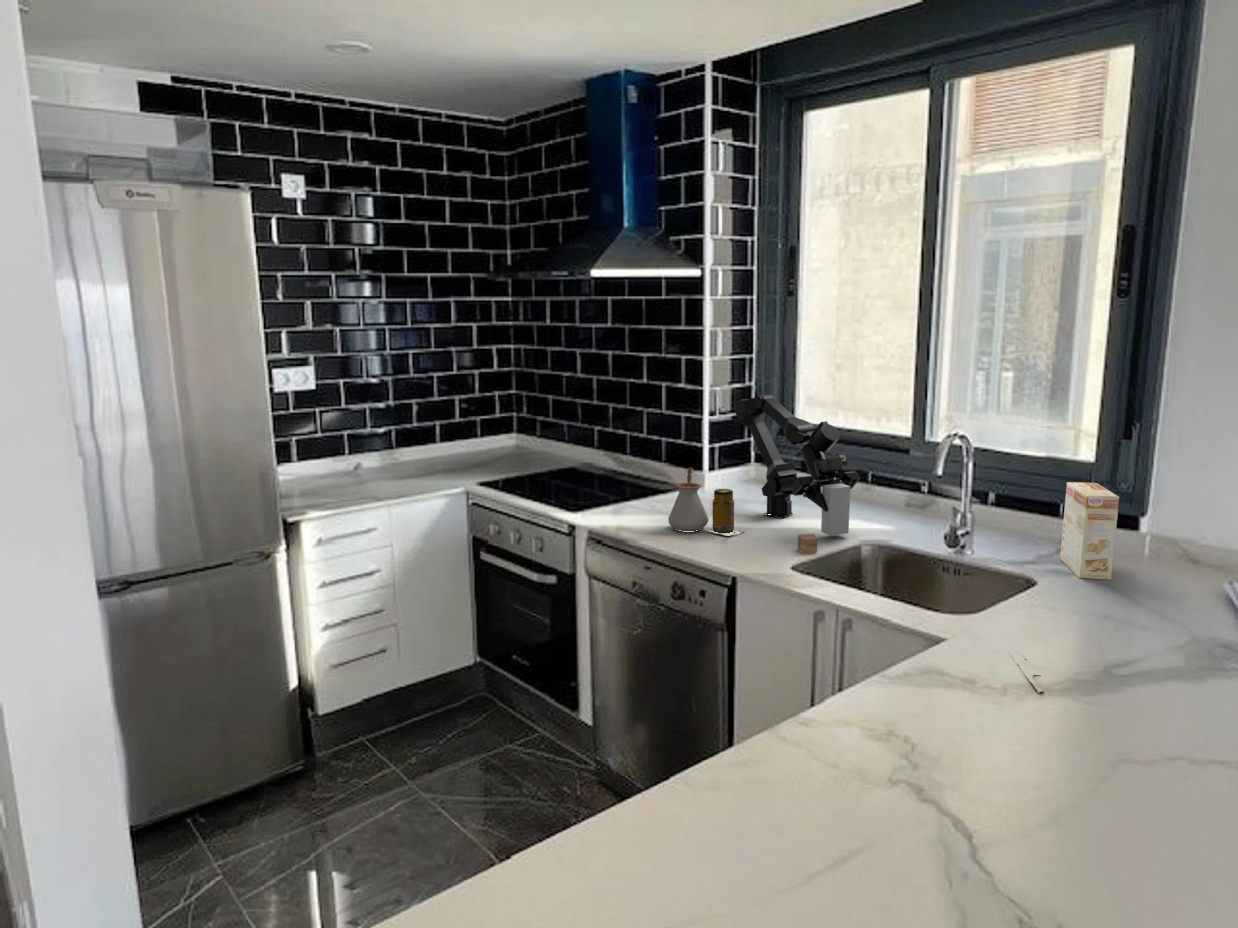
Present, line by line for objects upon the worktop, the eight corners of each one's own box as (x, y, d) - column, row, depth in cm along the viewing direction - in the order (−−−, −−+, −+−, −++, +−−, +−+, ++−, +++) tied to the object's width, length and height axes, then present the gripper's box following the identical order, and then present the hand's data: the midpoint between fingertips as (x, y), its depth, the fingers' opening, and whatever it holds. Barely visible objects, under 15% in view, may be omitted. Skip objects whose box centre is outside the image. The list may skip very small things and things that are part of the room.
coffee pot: (708, 535, 235) (708, 482, 232) (666, 534, 237) (666, 482, 234) (709, 515, 256) (709, 466, 253) (671, 514, 257) (671, 466, 255)
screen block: (821, 531, 231) (822, 485, 229) (840, 529, 233) (841, 483, 231) (829, 535, 228) (830, 488, 225) (848, 533, 230) (850, 486, 227)
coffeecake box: (1112, 580, 192) (1120, 496, 189) (1078, 578, 194) (1085, 495, 190) (1090, 559, 207) (1097, 482, 203) (1058, 558, 208) (1065, 481, 204)
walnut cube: (797, 548, 221) (797, 534, 220) (812, 548, 221) (813, 533, 220) (801, 553, 217) (801, 538, 216) (816, 553, 217) (817, 538, 216)
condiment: (723, 527, 243) (723, 486, 241) (745, 532, 237) (745, 491, 234) (705, 532, 238) (705, 490, 236) (727, 538, 232) (727, 495, 230)
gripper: (798, 448, 227) (819, 497, 219) (857, 442, 233) (880, 490, 225) (782, 471, 236) (802, 519, 228) (840, 465, 242) (861, 511, 234)
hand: (837, 509), depth 228 cm, fingers closed on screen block, 6 cm apart
